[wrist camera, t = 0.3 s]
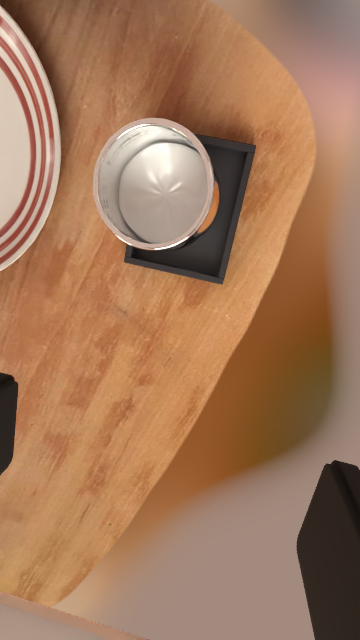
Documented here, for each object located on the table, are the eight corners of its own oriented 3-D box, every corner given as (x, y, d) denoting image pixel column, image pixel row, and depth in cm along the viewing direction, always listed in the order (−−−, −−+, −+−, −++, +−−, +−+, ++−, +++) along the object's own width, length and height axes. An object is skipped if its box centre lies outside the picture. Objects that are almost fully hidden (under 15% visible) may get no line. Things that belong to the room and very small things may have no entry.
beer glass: (161, 161, 31) (102, 97, 17) (233, 180, 31) (235, 130, 16) (144, 235, 33) (78, 235, 19) (212, 254, 33) (197, 269, 18)
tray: (150, 130, 31) (145, 124, 29) (254, 150, 30) (256, 145, 29) (129, 260, 34) (123, 262, 33) (223, 282, 34) (222, 284, 32)
